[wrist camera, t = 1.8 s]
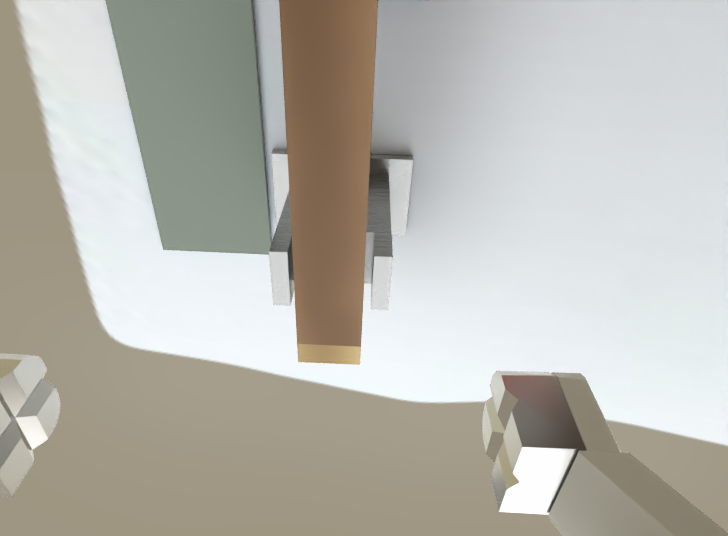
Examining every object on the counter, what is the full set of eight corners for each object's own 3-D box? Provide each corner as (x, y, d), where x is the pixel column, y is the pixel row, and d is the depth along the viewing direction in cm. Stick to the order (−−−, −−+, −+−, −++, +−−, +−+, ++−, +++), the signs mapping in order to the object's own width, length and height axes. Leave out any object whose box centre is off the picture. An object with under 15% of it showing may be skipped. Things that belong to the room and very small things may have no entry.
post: (412, 156, 28) (424, 239, 21) (405, 230, 31) (413, 326, 24) (273, 149, 28) (236, 230, 21) (278, 225, 31) (248, 319, 24)
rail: (388, -237, 14) (391, -270, 12) (361, 323, 27) (359, 364, 24) (284, -243, 14) (264, -276, 12) (305, 320, 27) (298, 361, 24)
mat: (235, -211, 20) (233, -213, 19) (272, 251, 32) (271, 254, 32) (59, -220, 20) (54, -222, 19) (165, 246, 32) (163, 249, 32)
